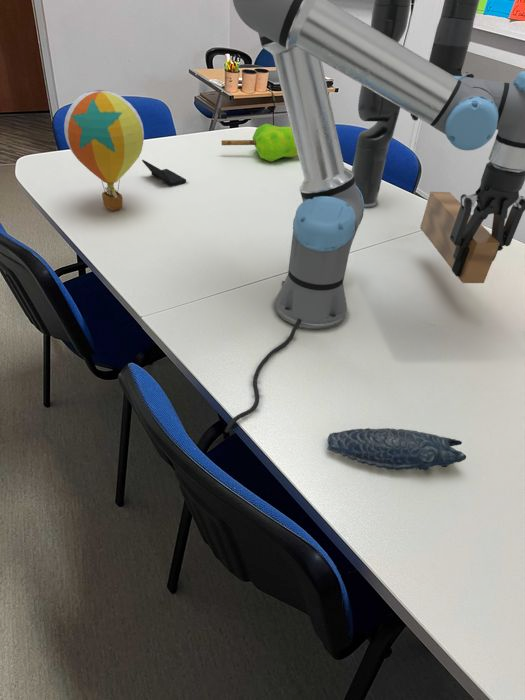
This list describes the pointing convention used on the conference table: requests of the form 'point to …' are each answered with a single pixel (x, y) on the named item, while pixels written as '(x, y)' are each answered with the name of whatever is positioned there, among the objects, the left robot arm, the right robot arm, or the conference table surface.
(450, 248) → the bar
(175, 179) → the black angled flat piece
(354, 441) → the fish model
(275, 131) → the decorative tree
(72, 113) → the toy
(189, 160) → the conference table surface
